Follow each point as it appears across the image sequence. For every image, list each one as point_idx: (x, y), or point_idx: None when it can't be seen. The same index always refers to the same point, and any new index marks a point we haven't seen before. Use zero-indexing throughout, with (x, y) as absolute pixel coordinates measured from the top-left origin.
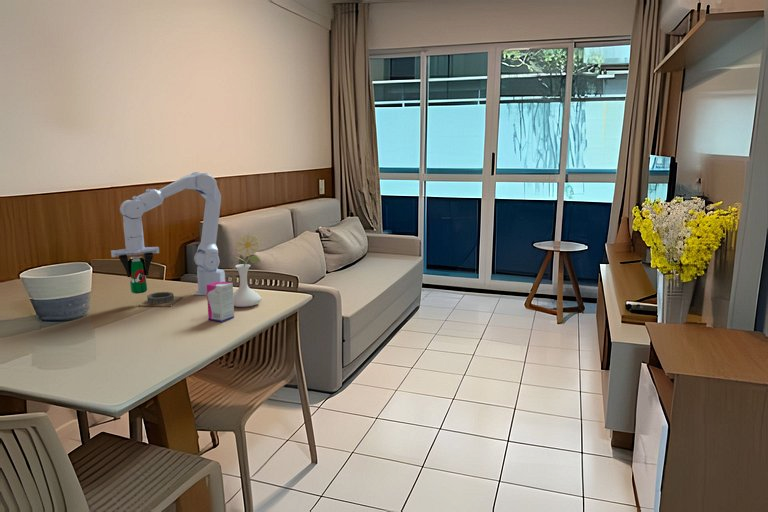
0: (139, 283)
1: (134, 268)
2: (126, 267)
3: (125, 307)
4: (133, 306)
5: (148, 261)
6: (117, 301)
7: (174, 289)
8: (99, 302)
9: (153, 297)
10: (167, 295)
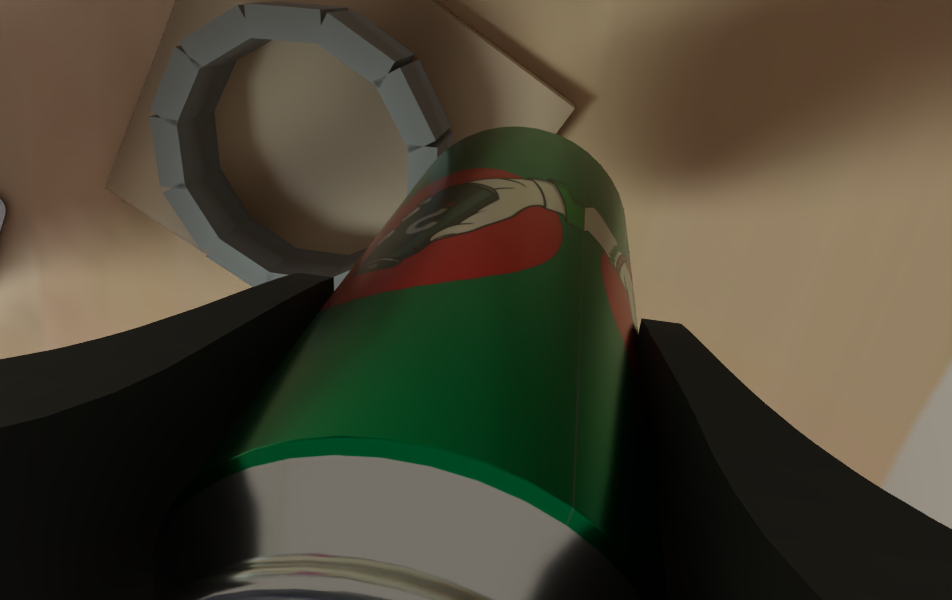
0: (502, 165)
1: (538, 334)
2: (762, 435)
3: (703, 147)
4: (616, 138)
5: (24, 381)
6: None
7: None
8: None
9: None
10: (232, 222)
